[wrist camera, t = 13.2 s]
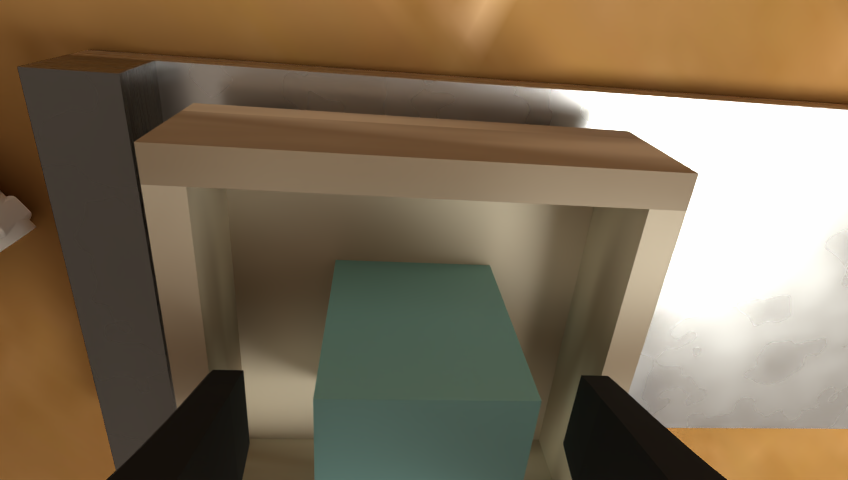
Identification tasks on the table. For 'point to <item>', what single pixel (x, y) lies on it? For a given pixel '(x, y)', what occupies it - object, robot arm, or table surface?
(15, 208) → the white paw tray
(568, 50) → the table surface
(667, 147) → the rail board
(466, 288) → the block
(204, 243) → the brown open box
